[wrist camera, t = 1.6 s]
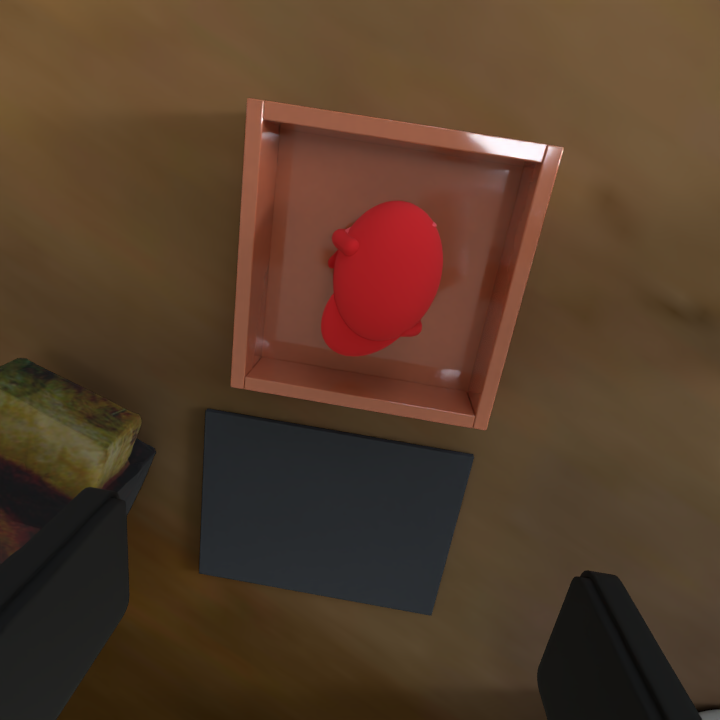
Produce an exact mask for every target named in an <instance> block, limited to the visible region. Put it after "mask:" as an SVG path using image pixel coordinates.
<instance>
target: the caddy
mask: <svg viewBox="0 0 720 720" xmlns="http://www.w3.org/2000/svg"><path fill="white" fill-rule="evenodd" d="M562 153H563V147H561V146H555V145H546V144H543V143H536V142H530V141H524V140H517V139H511V138H504V137H498V136H491V135H485V134H479V133H472V132H466V131H459V130H453V129H446V128H440V127H433V126H427V125H421V124H414V123H408V122H401V121H395V120H388V119H382V118H376V117H369V116H363V115H356V114H350V113H343V112H337V111H331V110H324V109H318V108H311V107H305V106H298V105H292V104H286V103H279V102H273V101H266V100H265V101H263V100H259V99H253V98H247V109H246V126H245V143H244V160H243V177H242V194H241V211H240V229H239V246H238V263H237V280H236V297H235V314H234V331H233V349H232V366H231V383H230V386H231V387H234V388H240V389H246V390H252V391H257V392H263V393H269V394H275V395H281V396H287V397H292V398H298V399H304V400H310V401H316V402H322V403H327V404H333V405H339V406H345V407H351V408H356V409H362V410H368V411H374V412H380V413H386V414H391V415H397V416H403V417H409V418H415V419H421V420H426V421H432V422H438V423H444V424H450V425H456V426H461V427H467V428H472V427H473V428H474V429H480V430H486V429H487V426H488V423H489V419H490V415H491V412H492V408H493V404H494V401H495V397H496V393H497V390H498V386H499V383H500V379H501V375H502V372H503V368H504V364H505V361H506V357H507V353H508V350H509V346H510V342H511V339H512V335H513V332H514V328H515V324H516V321H517V317H518V313H519V310H520V306H521V302H522V299H523V295H524V291H525V288H526V284H527V281H528V277H529V273H530V270H531V266H532V262H533V259H534V255H535V251H536V248H537V244H538V240H539V237H540V233H541V230H542V226H543V222H544V219H545V215H546V211H547V208H548V204H549V200H550V197H551V193H552V190H553V186H554V182H555V179H556V175H557V171H558V168H559V164H560V160H561V157H562ZM389 201H405V202H409V203H412V204H414V205H416V206H418V207H419V208H421V209H422V210H423V211H425V212H426V213H427V214H428V216H429V217H430V218H431V219H432V221H433V222H435V223H436V225H437V226H436V228H437V230H438V233H439V236H440V239H441V243H442V250H443V269H442V276H441V280H440V284H439V288H438V290H437V293H436V296H435V298H434V300H433V302H432V304H431V306H430V307H429V309H428V310H427V312H426V313H425V315H424V316H423V317H422V318H421V323H422V330H421V332H420V333H419V334H418V335H416V336H413V337H399V338H398V339H397V340H396V341H394V342H393V343H392V344H390V345H389V346H387V347H385V348H383V349H382V350H379V351H377V352H375V353H372V354H368V355H364V356H345V355H341V354H338V353H336V352H335V351H333V350H332V349H330V348H329V347H328V345H327V344H326V343H325V341H324V339H323V336H322V332H321V319H322V315H323V311H324V309H325V306H326V304H327V302H328V300H329V299H330V297H331V296H332V294H333V293H334V291H333V272H334V268H330V267H329V266H328V260H329V258H330V257H331V256H332V255H333V254H334V253H335V252H336V251H337V250H338V249H337V248H336V247H335V246H334V244H333V242H332V235H333V233H334V232H335V231H336V230H338V229H347V228H349V227H351V226H352V225H353V224H354V223H355V221H356V220H357V219H358V218H359V217H360V216H362V215H363V214H364V213H365V212H366V211H368V210H369V209H371V208H373V207H375V206H376V205H379V204H381V203H384V202H389Z"/></svg>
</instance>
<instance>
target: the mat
mask: <svg viewBox="0 0 720 720" xmlns="http://www.w3.org/2000/svg"><path fill="white" fill-rule="evenodd" d="M473 459H474V456H473V454H468V453H462V452H456V451H451V450H445V449H439V448H433V447H428V446H422V445H416V444H410V443H404V442H399V441H393V440H387V439H381V438H376V437H370V436H364V435H358V434H352V433H347V432H341V431H335V430H329V429H324V428H318V427H312V426H306V425H300V424H295V423H289V422H283V421H277V420H272V419H266V418H260V417H254V416H248V415H243V414H237V413H231V412H225V411H220V410H214V409H207V410H206V411H205V435H204V461H203V486H202V512H201V537H200V563H199V573H200V574H206V575H211V576H217V577H222V578H228V579H233V580H239V581H244V582H250V583H255V584H261V585H266V586H272V587H277V588H283V589H288V590H294V591H299V592H305V593H310V594H316V595H321V596H327V597H332V598H338V599H343V600H349V601H354V602H360V603H365V604H370V605H376V606H381V607H387V608H392V609H398V610H403V611H409V612H414V613H420V614H425V615H431V614H432V611H433V607H434V603H435V600H436V596H437V592H438V588H439V585H440V581H441V577H442V574H443V570H444V566H445V563H446V559H447V555H448V551H449V548H450V544H451V540H452V537H453V533H454V529H455V526H456V522H457V518H458V514H459V511H460V507H461V503H462V500H463V496H464V492H465V489H466V485H467V481H468V477H469V474H470V470H471V466H472V463H473Z"/></svg>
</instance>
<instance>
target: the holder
mask: <svg viewBox="0 0 720 720" xmlns="http://www.w3.org/2000/svg"><path fill="white" fill-rule="evenodd" d="M698 713H699V715H700V716H701V718H702V720H720V709H717V710H708V711H703V712H698Z"/></svg>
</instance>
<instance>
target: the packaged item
mask: <svg viewBox="0 0 720 720" xmlns="http://www.w3.org/2000/svg"><path fill="white" fill-rule="evenodd" d="M141 422H142V421H141V417H140V415H139V414H135V413H132V412H130V411H128V410H126V409H124V408H123V407H121V406H119V405H117V404H115V403H113V402H111V401H109V400H107V399H106V398H104V397H102V396H100V395H98V394H96V393H94V392H91V391H89V390H87V389H85V388H83V387H81V386H79V385H77V384H75V383H73V382H71V381H69V380H67V379H65V378H63V377H61V376H59V375H57V374H55V373H53V372H51V371H48V370H46V369H44V368H42V367H40V366H38V365H36V364H35V363H33V362H31V361H29V360H28V359H26V358H17V359H15V360H13V361H11V362H9V363H7V364H5V365H3V366H1V367H0V565H1V564H2V563H3V562H4V561H5V560H6V559H7V558H8V557H9V556H10V555H12V554H13V553H14V552H16V551H17V550H19V549H20V548H21V547H22V546H24V545H25V544H26V543H27V542H28V541H29V540H30V539H31V538H32V537H33V536H34V535H35V534H36V533H37V532H38V531H40V530H41V529H42V528H43V527H44V526H45V525H46V524H47V523H48V522H49V521H50V520H51V519H52V518H53V517H54V516H55V515H57V514H58V513H59V512H60V511H61V510H62V509H63V508H64V507H65V506H66V505H67V504H68V503H69V502H70V501H71V500H73V499H74V498H75V497H76V496H77V495H78V494H79V493H80V492H81V491H82V490H84V489H85V488H87V487H93V488H99V489H105V490H111V491H116V492H118V494H119V497H120V500H124V501H125V502H126V514H128V512H129V510H130V509H131V506H132V504H133V502H134V501H135V498H136V496H137V494H138V492H139V490H140V488H141V486H142V484H143V482H144V479H145V477H146V475H147V472H148V470H149V467H150V465H151V464H152V460H153V457H154V456H155V454H156V451H155V448H153V447H152V446H150V445H147V444H145V443H144V442H142V441H140V440H139V439H137V438H136V437H137V435H138V432H139V429H140V426H141Z"/></svg>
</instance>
